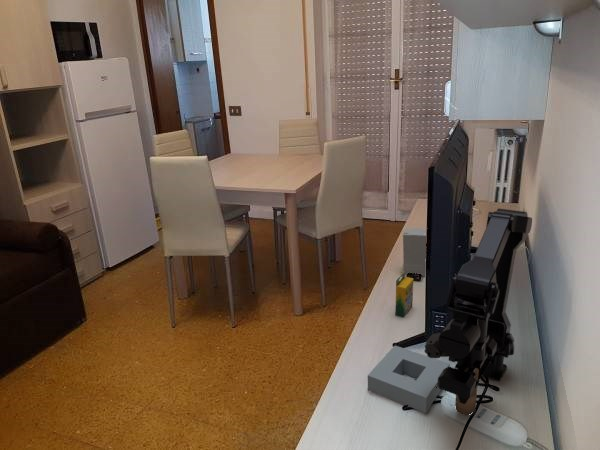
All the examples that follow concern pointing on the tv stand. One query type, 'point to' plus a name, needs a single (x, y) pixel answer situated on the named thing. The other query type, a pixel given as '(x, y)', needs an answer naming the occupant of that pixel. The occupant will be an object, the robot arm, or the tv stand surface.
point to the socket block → (402, 388)
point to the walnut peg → (471, 403)
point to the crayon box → (403, 295)
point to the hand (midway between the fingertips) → (466, 396)
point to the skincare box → (414, 250)
